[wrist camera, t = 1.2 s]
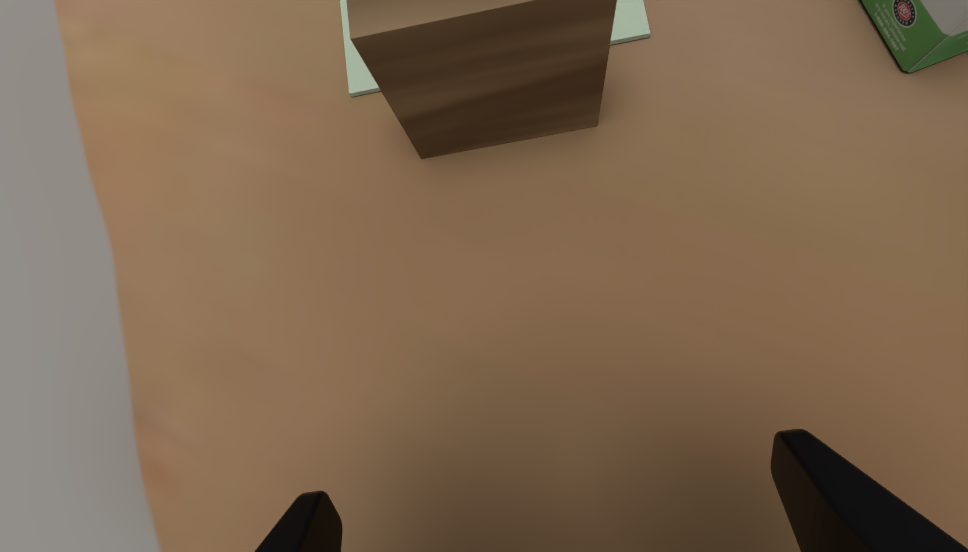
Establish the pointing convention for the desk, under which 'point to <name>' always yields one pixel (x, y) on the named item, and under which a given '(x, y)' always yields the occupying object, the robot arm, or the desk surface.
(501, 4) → the walnut plaque
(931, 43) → the ink box
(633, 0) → the green mat
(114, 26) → the desk surface
